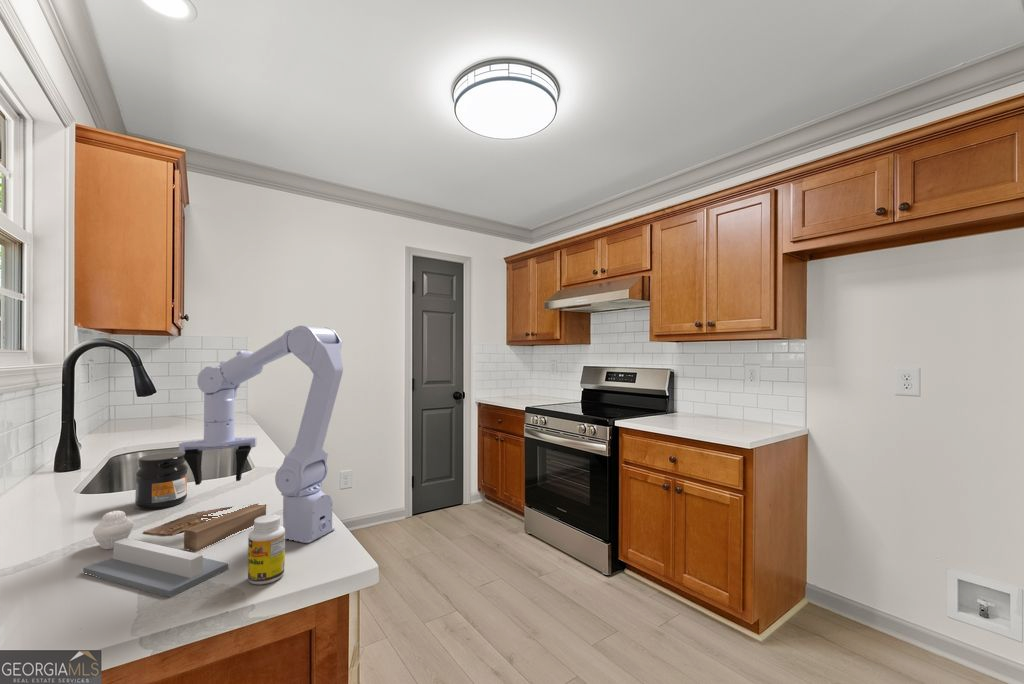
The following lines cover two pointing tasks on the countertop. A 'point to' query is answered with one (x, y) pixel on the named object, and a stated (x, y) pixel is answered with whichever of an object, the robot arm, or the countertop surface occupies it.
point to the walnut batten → (221, 527)
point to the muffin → (112, 529)
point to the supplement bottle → (266, 550)
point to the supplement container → (161, 480)
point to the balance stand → (155, 567)
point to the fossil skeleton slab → (183, 523)
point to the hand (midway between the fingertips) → (218, 481)
